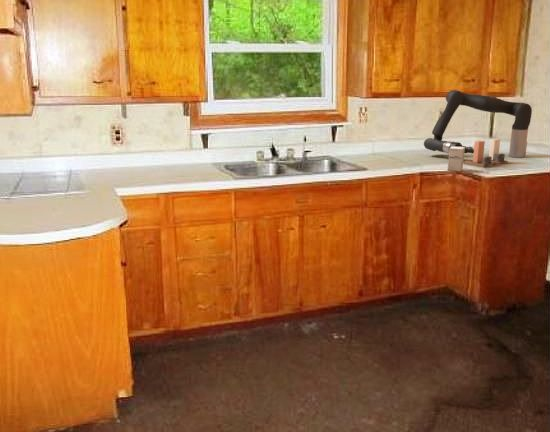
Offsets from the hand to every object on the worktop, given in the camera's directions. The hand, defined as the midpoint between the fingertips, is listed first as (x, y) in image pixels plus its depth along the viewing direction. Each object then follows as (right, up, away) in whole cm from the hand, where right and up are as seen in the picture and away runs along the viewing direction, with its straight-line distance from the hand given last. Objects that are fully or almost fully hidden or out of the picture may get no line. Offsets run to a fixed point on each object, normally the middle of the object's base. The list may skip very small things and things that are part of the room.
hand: (475, 151), depth 311 cm
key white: (+13, -4, +7) cm, 15 cm away
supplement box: (-16, -12, -13) cm, 24 cm away
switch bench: (+7, -7, +4) cm, 11 cm away
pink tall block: (+1, -6, 0) cm, 6 cm away
